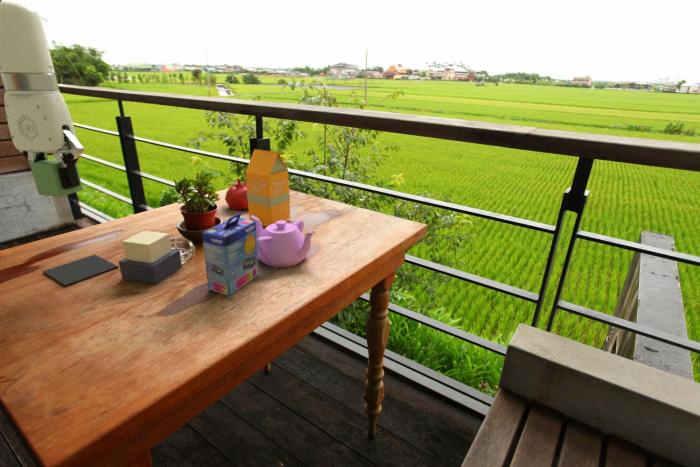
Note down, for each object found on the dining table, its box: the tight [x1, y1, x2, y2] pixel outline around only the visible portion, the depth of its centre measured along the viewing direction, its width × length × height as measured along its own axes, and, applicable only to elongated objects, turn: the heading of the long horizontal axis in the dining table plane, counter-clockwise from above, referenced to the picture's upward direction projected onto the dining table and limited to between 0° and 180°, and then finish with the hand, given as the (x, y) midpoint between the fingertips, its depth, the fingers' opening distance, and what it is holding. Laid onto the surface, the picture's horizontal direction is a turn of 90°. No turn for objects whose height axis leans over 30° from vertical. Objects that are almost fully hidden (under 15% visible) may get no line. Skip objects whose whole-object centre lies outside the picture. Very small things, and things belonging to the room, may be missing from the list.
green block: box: [29, 157, 84, 198], centre depth 74 cm, size 5×5×6 cm
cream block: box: [122, 230, 173, 263], centre depth 78 cm, size 6×6×4 cm
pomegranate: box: [224, 178, 249, 211], centre depth 120 cm, size 10×10×9 cm
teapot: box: [251, 215, 317, 268], centre depth 87 cm, size 12×14×9 cm
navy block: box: [117, 248, 183, 285], centre depth 80 cm, size 8×8×4 cm
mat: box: [42, 254, 119, 288], centre depth 81 cm, size 10×10×1 cm
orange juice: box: [245, 148, 291, 227], centre depth 107 cm, size 8×9×20 cm
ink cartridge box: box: [201, 212, 259, 297], centre depth 74 cm, size 10×6×14 cm, turn 158°
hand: (59, 185), depth 74 cm, fingers closed on green block, 5 cm apart
